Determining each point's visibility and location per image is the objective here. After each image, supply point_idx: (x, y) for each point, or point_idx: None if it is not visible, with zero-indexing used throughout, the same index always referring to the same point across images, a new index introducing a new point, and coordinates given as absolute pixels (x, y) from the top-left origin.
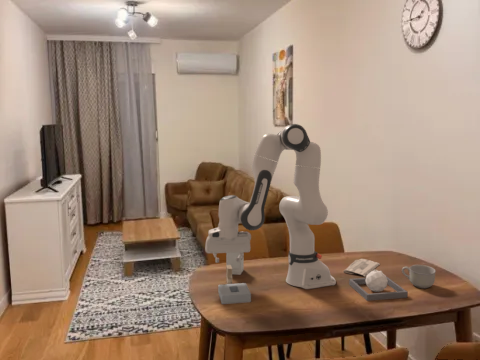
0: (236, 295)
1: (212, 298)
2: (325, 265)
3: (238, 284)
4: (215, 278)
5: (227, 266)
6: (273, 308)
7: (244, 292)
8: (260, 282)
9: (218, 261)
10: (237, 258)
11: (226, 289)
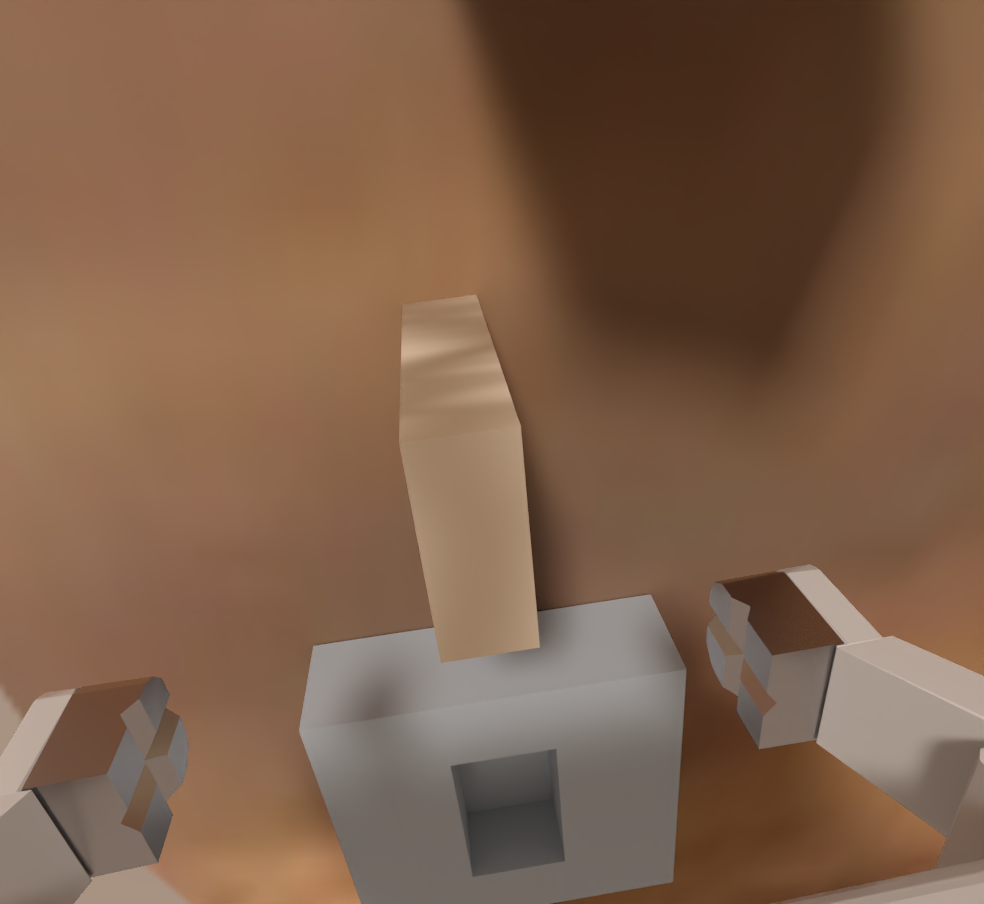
0: (524, 902)
1: (266, 762)
2: None
3: (580, 711)
4: (167, 95)
5: (436, 528)
6: (790, 864)
7: (614, 865)
8: (923, 343)
9: (163, 783)
10: (777, 743)
11: (419, 828)
